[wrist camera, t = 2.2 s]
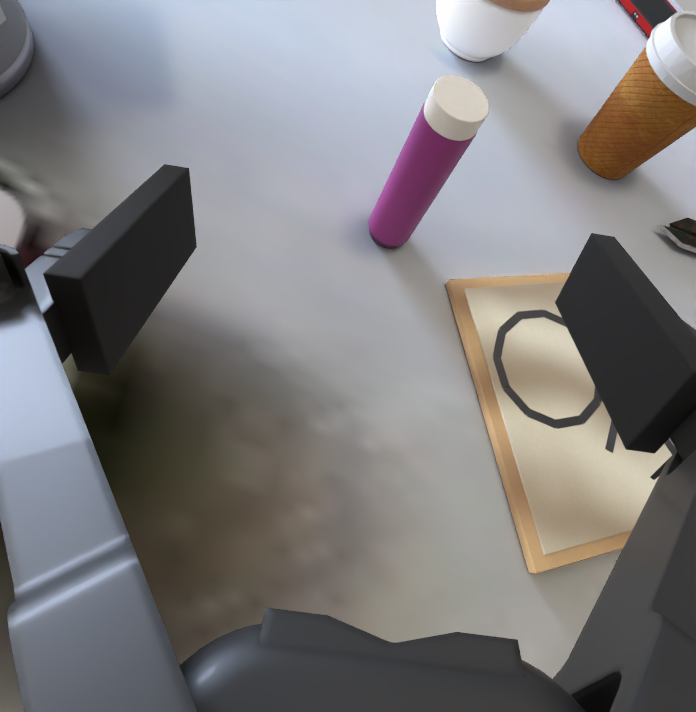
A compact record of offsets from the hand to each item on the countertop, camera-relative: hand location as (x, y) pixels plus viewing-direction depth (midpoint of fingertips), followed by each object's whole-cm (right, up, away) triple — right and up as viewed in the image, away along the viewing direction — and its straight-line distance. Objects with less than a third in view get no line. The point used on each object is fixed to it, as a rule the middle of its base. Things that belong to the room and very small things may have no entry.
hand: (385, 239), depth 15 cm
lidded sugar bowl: (+12, +30, +34) cm, 47 cm away
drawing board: (+18, -7, +22) cm, 29 cm away
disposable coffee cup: (+26, +17, +33) cm, 45 cm away
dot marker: (+2, +6, +22) cm, 23 cm away
